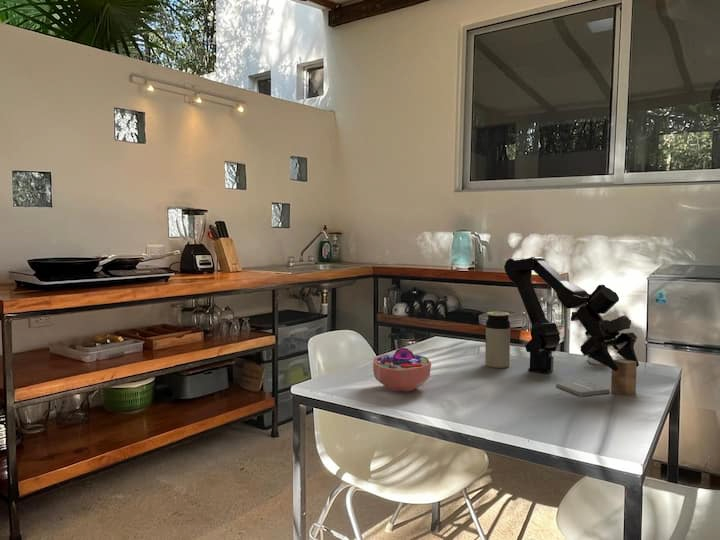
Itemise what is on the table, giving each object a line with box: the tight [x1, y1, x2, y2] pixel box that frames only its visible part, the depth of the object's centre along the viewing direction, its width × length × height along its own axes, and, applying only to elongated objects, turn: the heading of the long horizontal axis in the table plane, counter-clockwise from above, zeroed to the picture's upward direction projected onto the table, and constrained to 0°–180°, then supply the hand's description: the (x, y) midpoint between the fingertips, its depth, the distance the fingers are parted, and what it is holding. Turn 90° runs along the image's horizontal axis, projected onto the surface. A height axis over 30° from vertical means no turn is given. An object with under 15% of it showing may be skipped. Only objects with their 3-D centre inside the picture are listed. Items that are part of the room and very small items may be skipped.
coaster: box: [555, 380, 611, 397], centre depth 157 cm, size 10×10×1 cm
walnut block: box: [610, 358, 638, 397], centre depth 154 cm, size 4×4×9 cm
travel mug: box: [484, 311, 511, 369], centre depth 186 cm, size 8×8×18 cm
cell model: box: [372, 347, 432, 393], centre depth 157 cm, size 17×20×11 cm
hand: (627, 368), depth 153 cm, fingers open, 9 cm apart
